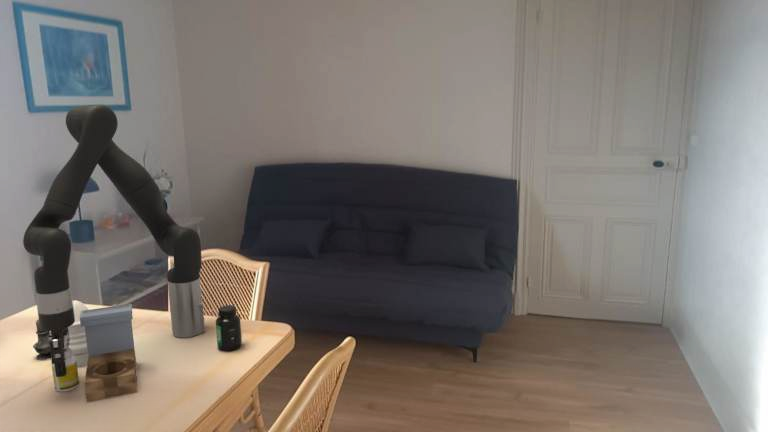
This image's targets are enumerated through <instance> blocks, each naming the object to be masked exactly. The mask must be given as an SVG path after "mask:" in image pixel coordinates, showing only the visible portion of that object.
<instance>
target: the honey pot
mask: <svg viewBox="0 0 768 432" xmlns="http://www.w3.org/2000/svg"><path fill="white" fill-rule="evenodd" d="M72 301H73V309H74V317H75V322H74V324H72V325H71V326H69V327H68V329H69V336H70V341H69V343H70V344H69V346H67V347H69V348H71V350H72V355H71V356H74V357H75V358H76V362H77V368H82V367H87V363H88V349H87V341H86V334H85V327H81V324H80V314H81V311H84V310H90V309H89V307H87V306H86V305H85V304H84V303H83V302H81V301H80V300H72Z"/></svg>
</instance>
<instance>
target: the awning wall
mask: <svg viewBox="0 0 768 432" xmlns="http://www.w3.org/2000/svg"><path fill="white" fill-rule="evenodd" d="M132 320H134V318H133V304H132V303H127V304H121V305H114V306H112V305H111V306H106V307H100V308H93V309H89V310H84V311H81V314H80V324H81V327H85V334H86V341H87V349H88V356H93V355H99V354H105V353H111V352H117V351H123V350H128V349H134V350H135V341H134V340H135V339H134V332H133V323H132ZM135 351H136V350H135ZM135 359H136V360H137V358H136V355H135Z"/></svg>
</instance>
